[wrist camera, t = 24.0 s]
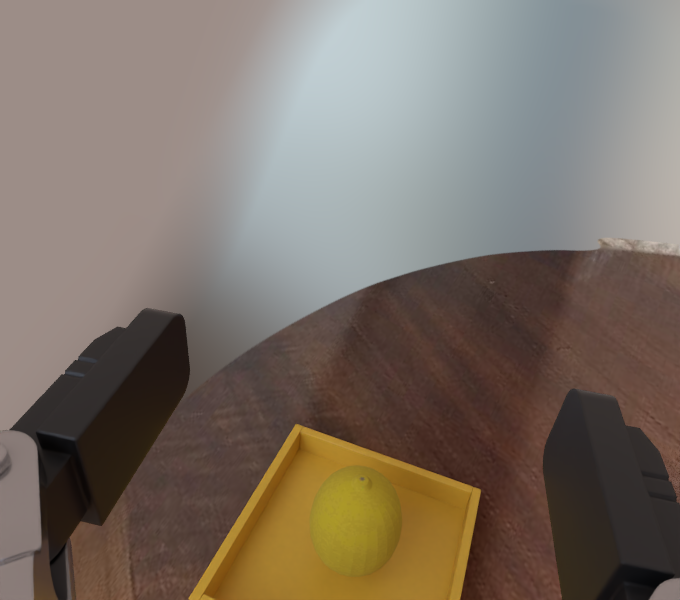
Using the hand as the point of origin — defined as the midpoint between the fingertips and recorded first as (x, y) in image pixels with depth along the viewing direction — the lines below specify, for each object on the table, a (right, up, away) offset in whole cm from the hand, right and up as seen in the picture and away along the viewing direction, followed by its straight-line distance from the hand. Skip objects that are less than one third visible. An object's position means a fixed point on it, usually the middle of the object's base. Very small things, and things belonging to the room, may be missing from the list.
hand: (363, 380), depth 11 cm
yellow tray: (0, -15, +24) cm, 28 cm away
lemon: (0, -15, +23) cm, 28 cm away
